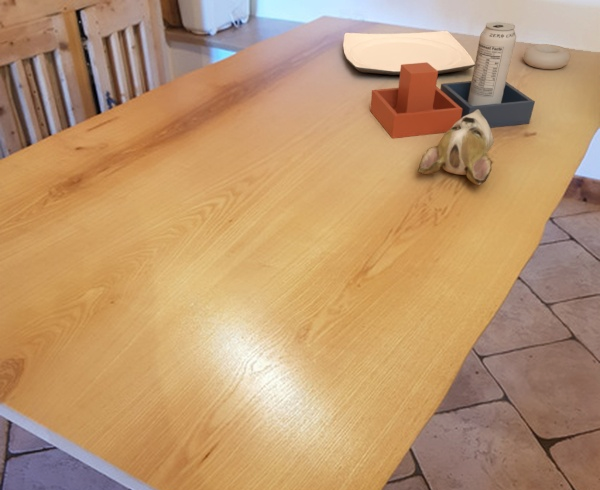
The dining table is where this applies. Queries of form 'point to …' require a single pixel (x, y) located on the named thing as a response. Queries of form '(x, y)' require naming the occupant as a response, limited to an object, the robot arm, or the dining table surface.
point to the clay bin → (414, 114)
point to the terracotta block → (416, 88)
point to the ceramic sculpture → (462, 150)
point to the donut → (546, 56)
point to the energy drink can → (492, 63)
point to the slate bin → (506, 113)
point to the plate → (405, 52)
